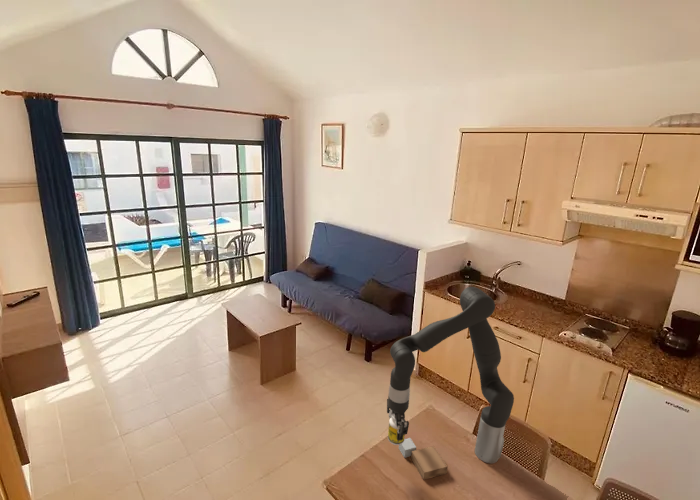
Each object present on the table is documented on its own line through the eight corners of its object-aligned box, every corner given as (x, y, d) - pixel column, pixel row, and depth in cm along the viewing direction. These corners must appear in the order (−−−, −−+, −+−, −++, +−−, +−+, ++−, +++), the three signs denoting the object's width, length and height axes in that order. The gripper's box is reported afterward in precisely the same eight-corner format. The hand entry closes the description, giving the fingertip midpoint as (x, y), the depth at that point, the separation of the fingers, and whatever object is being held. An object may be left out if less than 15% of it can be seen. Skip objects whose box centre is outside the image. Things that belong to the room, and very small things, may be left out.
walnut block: (432, 452, 147) (433, 445, 146) (446, 473, 138) (447, 466, 137) (410, 458, 144) (411, 451, 143) (423, 479, 135) (424, 472, 134)
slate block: (409, 445, 151) (410, 437, 149) (415, 455, 146) (416, 447, 145) (398, 448, 149) (399, 440, 148) (404, 458, 144) (405, 450, 143)
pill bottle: (384, 436, 138) (386, 412, 135) (398, 431, 141) (400, 407, 137) (393, 448, 132) (395, 423, 129) (407, 442, 135) (409, 418, 132)
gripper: (417, 406, 125) (413, 445, 130) (399, 381, 138) (396, 417, 143) (398, 410, 123) (394, 450, 128) (381, 384, 136) (379, 421, 141)
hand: (395, 432), depth 135 cm, fingers closed on pill bottle, 6 cm apart
